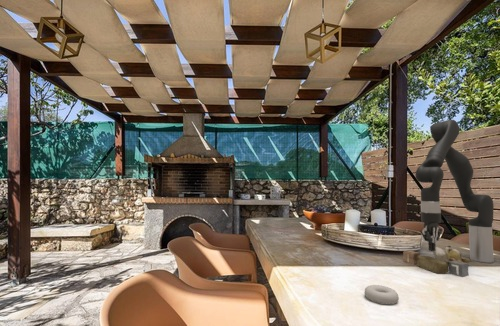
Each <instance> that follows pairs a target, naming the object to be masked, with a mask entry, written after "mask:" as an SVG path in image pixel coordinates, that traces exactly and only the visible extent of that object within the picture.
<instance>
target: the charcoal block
mask: <svg viewBox="0 0 500 326" xmlns="http://www.w3.org/2000/svg"><path fill="white" fill-rule="evenodd" d="M448 268H449V272H448V274H449V275H453V276H456V277H460V278H464V277H468V276H469V263H464V262H459V261H455V260H454V261H450V262H449V263H448Z"/></svg>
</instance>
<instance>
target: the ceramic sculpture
mask: <svg viewBox="0 0 500 326" xmlns="http://www.w3.org/2000/svg"><path fill="white" fill-rule="evenodd" d="M432 252H433V255H434V258H436V259H439V260H442V261H445V262H447V264H449V262H450V261H454V260H455V261H459V262H464V263H468V264H469V263H473V260H471V259H467V258H464V257H463V256H462V253H461V252H460V251H459V250H458V249H456V248H452V247H451V245H446V246H444V247H442V248H441V247H439V246H436V251H432Z"/></svg>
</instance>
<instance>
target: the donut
mask: <svg viewBox="0 0 500 326" xmlns="http://www.w3.org/2000/svg"><path fill="white" fill-rule="evenodd" d="M364 295H365V297H366V298H367V299H368V300H369V301H372V302H374V303H377V304H379V305H394V304H396V303H398V302H399V299H400V297H399V294H398V292H397V291H396V290H395V289H393V288H392V287H389V286H385V285H382V284H381V285H380V284H371V285H368V286H366V287H365V289H364Z"/></svg>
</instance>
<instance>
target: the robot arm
mask: <svg viewBox="0 0 500 326" xmlns="http://www.w3.org/2000/svg"><path fill="white" fill-rule="evenodd" d="M429 131H430V134H431V136H432V139H433V141H434V142H435V144H434V145H433V146H432V147H431V148H430V149H429V151H428V153H427V154H426V157H425V159H424V160H423V162H422V163H421V164H420V165H418V167H417V168H416V171H415V179H416V180H417V182H419V183H422V184H423V183H426V184H427V183H429V184H430V183H431V185H430V186H429V187H423V188H422V189H421V190H420V221H421V222H423V229H420V234H421V236H422V238H423V240H424V241H426V242H427V243H428V251H429V252H433V251H436V247H437V246H436V244H437V242H438V241H440V237H441V235H442V232H443V229H442V228H439V227H440V225H439V224H441V223H442V210H441V209H442V208H441V203H440V198H441V197H440V192H441V191H440V190H441V187H442V183H443V179H444V171H443V169H442V168H441V167H442V166H443V164H444V161H445V163H446V165H447V168H448V170H449V171H450V174H451V176H452V177H453V180H454V182H455V185H456V186H457V189H458V192H459V195H460V198H461V202H462V204H463V207H464V208H465V209H466V210H467V211H468V212H472V213H478V215H477V216H476V217H473V218H469V219H468V241H469V242H468V247H469V260H472V261H475V262H479V263H487V264H488V263H490V264H491V263H494V241H493V238H494V237H493V222H494V201H493V198H492V197H491V196H490V195H488V194H476V193H474V192H473V190H472V187H471V183H472V180H473V176H474V168H473V166H472V164H471V162H470V159H469V158H468V157H467V156H466V155H465V154H463V153H461V152H460V151H458V150H457V149H455V148H454V147H452V146H453V144H454V142H455V141H456V139H457V138H458V136H459V133H460V125H459V123H458V122H457V121H456V120H455V119H447V120H443V121H440V122H436V123H433V124H432V125H430V128H429Z"/></svg>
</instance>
